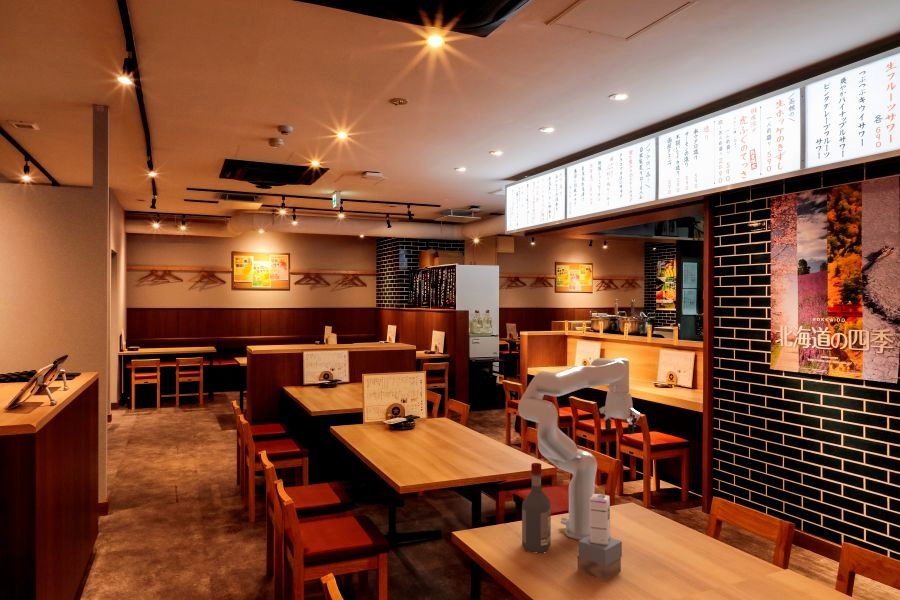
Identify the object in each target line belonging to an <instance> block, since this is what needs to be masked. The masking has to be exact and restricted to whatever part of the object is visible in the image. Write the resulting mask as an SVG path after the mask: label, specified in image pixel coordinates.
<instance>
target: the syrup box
mask: <svg viewBox="0 0 900 600" xmlns="http://www.w3.org/2000/svg"><path fill="white" fill-rule="evenodd" d="M610 499H611V498H610V495H608V494H602V493H594V494H592V496H591V497H590V542H592V543H596V544H603V545H608V543H609V541H610V538H611V505H610V502H611V501H610Z"/></svg>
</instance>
